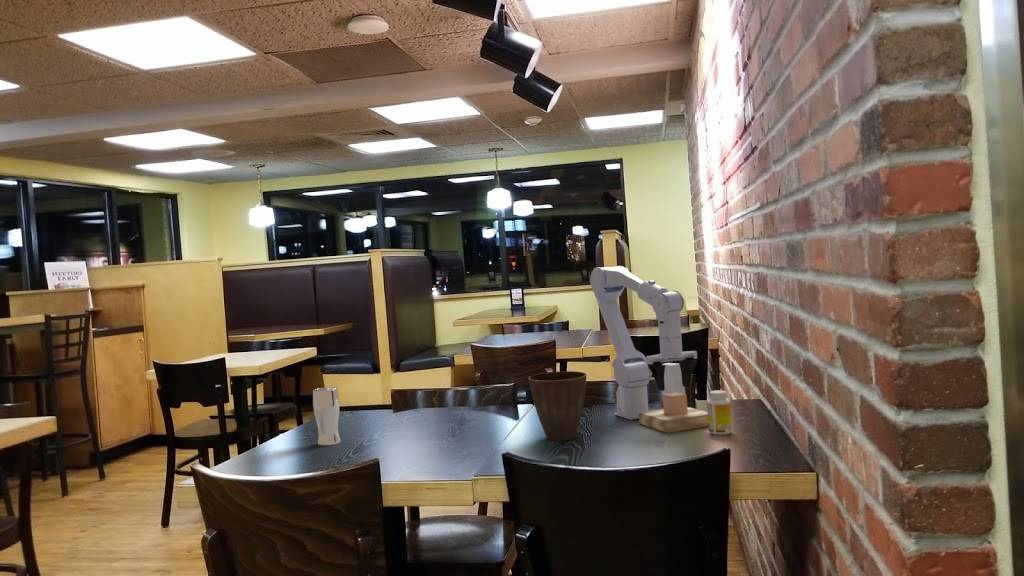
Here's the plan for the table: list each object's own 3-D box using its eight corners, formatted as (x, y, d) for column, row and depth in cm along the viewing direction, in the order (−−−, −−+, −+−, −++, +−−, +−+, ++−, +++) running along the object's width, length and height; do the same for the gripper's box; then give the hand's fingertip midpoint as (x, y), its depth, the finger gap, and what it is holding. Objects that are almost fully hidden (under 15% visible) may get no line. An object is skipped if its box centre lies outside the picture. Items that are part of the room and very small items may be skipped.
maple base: (639, 423, 193) (638, 412, 193) (683, 416, 197) (683, 405, 197) (667, 432, 180) (667, 420, 179) (714, 425, 184) (713, 413, 184)
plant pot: (601, 438, 178) (596, 375, 178) (546, 447, 173) (541, 382, 173) (575, 428, 192) (571, 369, 192) (524, 436, 187) (519, 375, 187)
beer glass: (319, 447, 191) (315, 392, 191) (313, 443, 198) (309, 389, 197) (345, 443, 195) (340, 388, 194) (338, 438, 201) (334, 386, 201)
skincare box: (686, 403, 217) (684, 363, 217) (676, 405, 215) (673, 365, 214) (672, 400, 222) (669, 362, 222) (661, 403, 220) (659, 363, 220)
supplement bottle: (736, 432, 175) (734, 390, 175) (723, 436, 171) (720, 394, 171) (717, 429, 179) (714, 389, 179) (704, 433, 176) (701, 392, 176)
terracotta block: (663, 412, 190) (662, 394, 190) (678, 410, 191) (676, 392, 191) (672, 415, 185) (671, 396, 185) (687, 413, 187) (686, 394, 187)
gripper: (654, 340, 182) (657, 393, 182) (702, 335, 187) (705, 387, 187) (640, 339, 189) (643, 390, 189) (687, 334, 194) (690, 383, 194)
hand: (673, 388), depth 188 cm, fingers open, 7 cm apart
